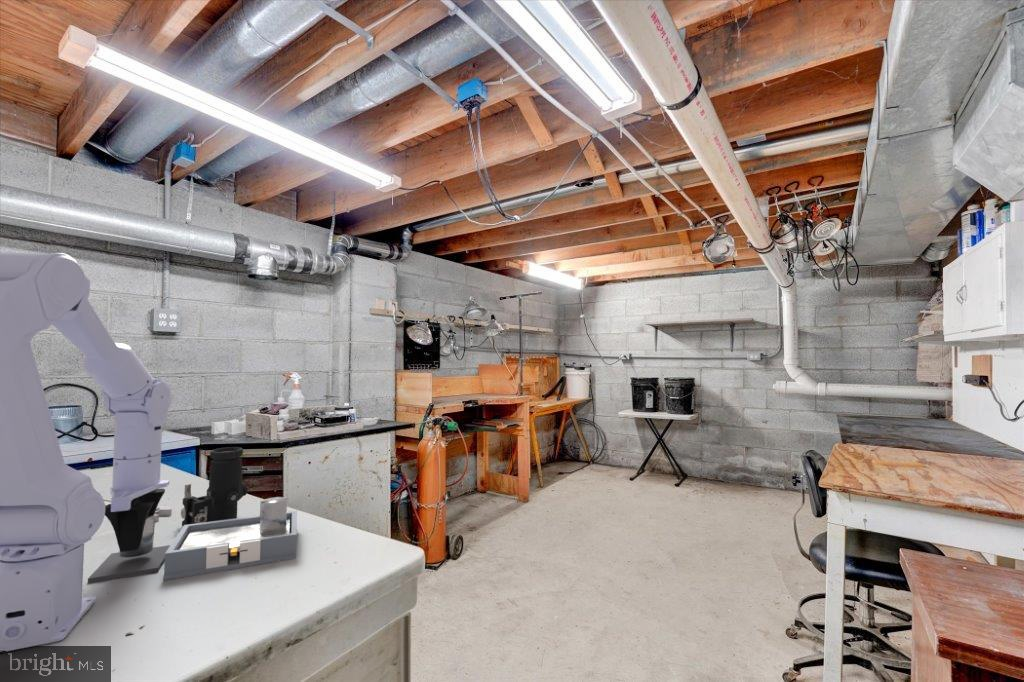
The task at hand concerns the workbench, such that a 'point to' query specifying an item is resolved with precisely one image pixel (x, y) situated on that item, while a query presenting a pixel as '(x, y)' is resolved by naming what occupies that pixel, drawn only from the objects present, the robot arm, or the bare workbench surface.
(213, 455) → the scope
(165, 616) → the workbench surface
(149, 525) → the cylinder
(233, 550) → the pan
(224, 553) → the tray
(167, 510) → the adjustable wrench
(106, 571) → the rubber mat
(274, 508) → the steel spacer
